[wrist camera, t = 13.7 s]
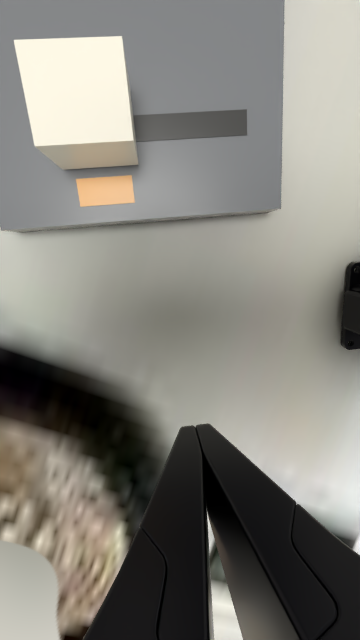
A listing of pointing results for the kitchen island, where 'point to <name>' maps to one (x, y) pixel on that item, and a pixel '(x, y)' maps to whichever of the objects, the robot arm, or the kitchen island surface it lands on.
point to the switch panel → (155, 113)
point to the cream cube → (79, 100)
